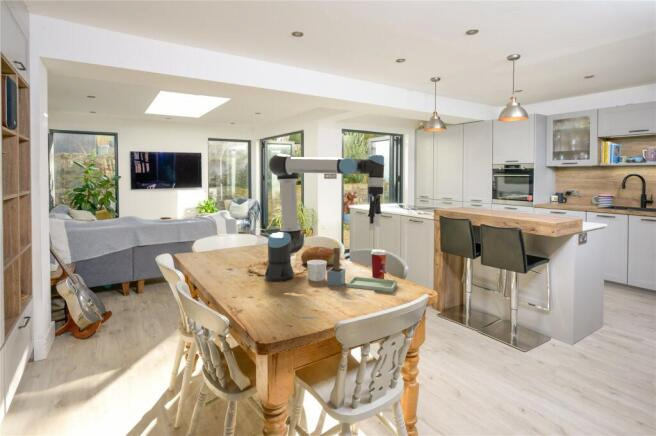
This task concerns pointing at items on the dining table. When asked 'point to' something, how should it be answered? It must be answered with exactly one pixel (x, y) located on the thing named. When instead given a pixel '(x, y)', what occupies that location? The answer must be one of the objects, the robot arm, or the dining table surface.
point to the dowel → (336, 259)
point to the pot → (336, 277)
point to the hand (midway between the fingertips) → (374, 228)
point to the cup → (316, 270)
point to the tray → (373, 284)
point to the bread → (318, 255)
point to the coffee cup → (378, 263)
